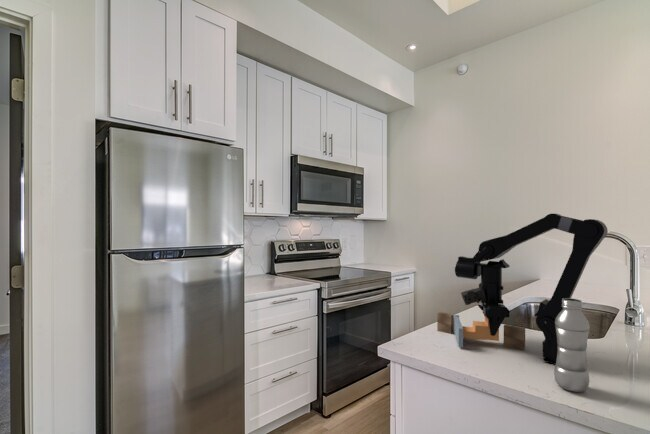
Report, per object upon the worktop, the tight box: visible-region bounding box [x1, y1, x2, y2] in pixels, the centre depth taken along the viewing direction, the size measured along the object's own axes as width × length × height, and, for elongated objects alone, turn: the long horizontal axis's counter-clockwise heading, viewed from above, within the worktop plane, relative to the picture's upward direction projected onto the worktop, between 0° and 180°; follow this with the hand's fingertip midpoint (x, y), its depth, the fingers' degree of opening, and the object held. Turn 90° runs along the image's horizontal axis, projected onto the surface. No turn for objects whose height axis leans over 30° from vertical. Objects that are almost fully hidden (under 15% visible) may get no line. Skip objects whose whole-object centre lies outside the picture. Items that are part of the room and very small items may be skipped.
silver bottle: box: [553, 297, 591, 393], centre depth 78 cm, size 6×7×20 cm
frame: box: [436, 311, 526, 351], centre depth 110 cm, size 26×2×6 cm, turn 49°
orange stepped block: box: [462, 316, 500, 342], centre depth 106 cm, size 10×5×6 cm, turn 75°
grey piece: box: [452, 314, 464, 348], centre depth 108 cm, size 15×2×6 cm, turn 164°
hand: (491, 332), depth 105 cm, fingers closed on orange stepped block, 5 cm apart
